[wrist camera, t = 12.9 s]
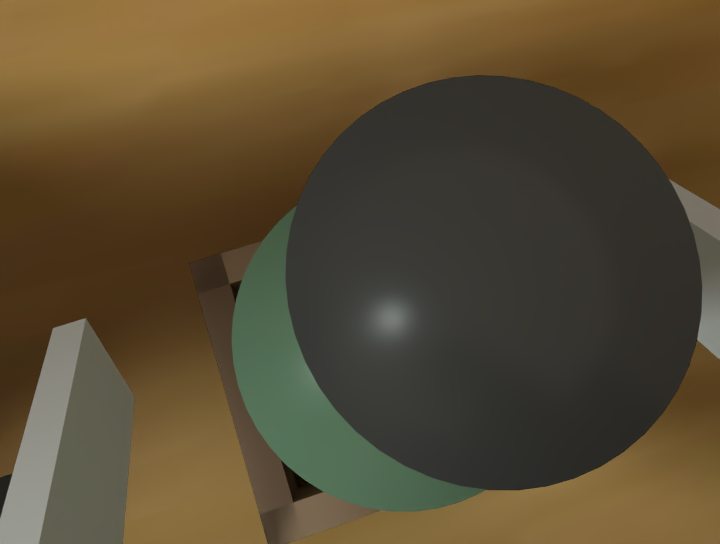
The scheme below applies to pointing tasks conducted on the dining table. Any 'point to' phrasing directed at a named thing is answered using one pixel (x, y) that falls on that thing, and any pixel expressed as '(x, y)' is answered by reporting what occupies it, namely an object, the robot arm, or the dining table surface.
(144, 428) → the dining table surface
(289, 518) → the u rest
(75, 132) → the dining table surface
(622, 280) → the bottle
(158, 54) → the dining table surface
